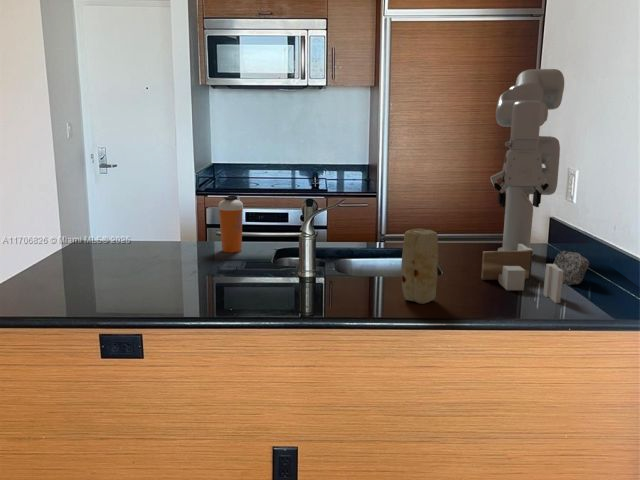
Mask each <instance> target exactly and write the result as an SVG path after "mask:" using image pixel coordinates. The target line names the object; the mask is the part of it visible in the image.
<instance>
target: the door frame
mask: <svg viewBox="0 0 640 480" xmlns="http://www.w3.org/2000/svg"><path fill="white" fill-rule="evenodd" d="M517 251H534V250H533V249H532V248H531V247H530V248H527V247H526V246H524V245H523V244H518V250H517ZM562 280H563V270H561V269H560V268H558V266H557V265H556V264H553V263H545V273H544V282H543V293H542V295H544V297H545V298H549V299H551V301H553V302H554V303H555V304H560V303H561V298H562V287H563V283H562Z"/></svg>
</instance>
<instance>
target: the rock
mask: <svg viewBox="0 0 640 480" xmlns="http://www.w3.org/2000/svg"><path fill="white" fill-rule="evenodd" d="M553 261H554V262H553V263H552V264H556V265H557V266H558V268H560V269H561V270H563V280H562V284H565V285H566V286H572V285H579V284H580V283H581V282H582V281H583V279H584V277H585V274H586V272H587V270H588V269H589V266H590V260H588V259H587V258H586V257H584V256H583V255H581V254H580V253H579V252H576V251H575V252H574V251H566V250H562V251H560V252H559V253H557V255H556V256H555V258H554V260H553Z"/></svg>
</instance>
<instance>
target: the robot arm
mask: <svg viewBox="0 0 640 480" xmlns="http://www.w3.org/2000/svg"><path fill="white" fill-rule="evenodd" d="M564 91H565V77H564V74H563V73H562V71H561V70H559V69H557V68H556V69H555V68H542V69H541V68H532V69H530V68H529V69H526V70H524V71H523V70H522V72H520V73H518V76H517V78H516V80H515V85H512V86H510V87H509V89H507V90H506V91H504V92H503V93H502V94H501V95H500V96H499V98H498V99H497V104H496V109H495V120H496V123H497V124H498V125H499V126H501V127H506V128H507V127H510V139H509V140H507V141H505V142H504V146H505V147H507V148H508V149H509V150H507V151H506V153H505V157H504V160H503V166H502V170H501V171H499V172H498V173H496V174H493V175H491V176H490V178H489V179H490V181H491V184H492V186H493V188H494V189H496V191H497V192H498V196H497V204H499V205H498V206H500V207H501V208H505V209H504V222H503V223H504V224H503V225H504V226H503V235H502V236H503V237H502V247H498V248H497V251H517V250H518V244H523V245H524V246H526V247H527V248H531V238H532V226H533V218H534V217H533V216H534V207H535V208H539V206H540V205H541V202H542V196H550V195H553V194H555V193H556V191H557V189H558V188H557V187H558V180H559V170H560V169H559V168H560V167H559V166H560V158H561V157H560V156H561V145H560V141H559V139H558V138H557V137H555V136H547V135H546V136H545V135H544V136H543V135H540V129H541V128H540V127H541V126H543V125H544V124H545V123H546V122H547V120H548V116H549V111H551V110H552V111H553V110H556V109H559V108H560V106H561V103H562V100H563V95H564ZM543 165H544V167H543ZM498 179H501V184H499V183H498ZM527 195H532V201H531V199H530V198H529V197H528V196H527ZM534 255H535V252H534V250H533V255H532V257H534Z"/></svg>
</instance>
